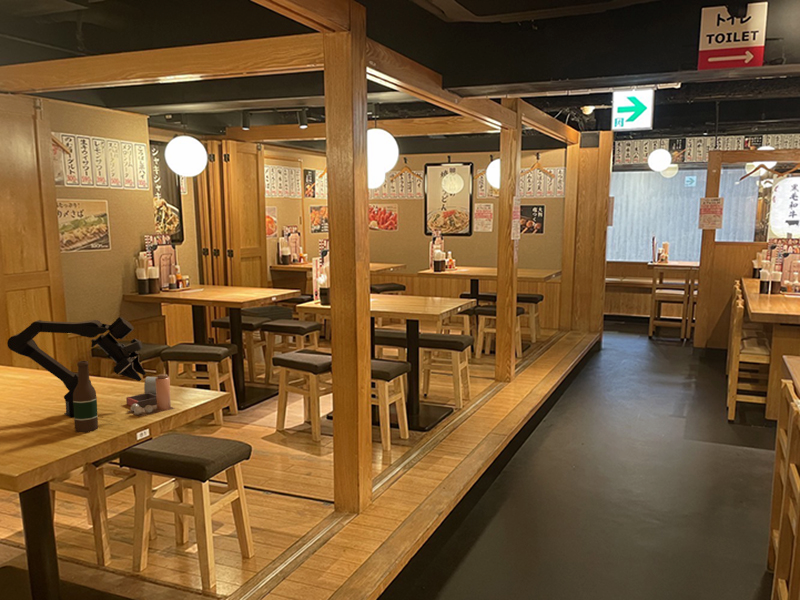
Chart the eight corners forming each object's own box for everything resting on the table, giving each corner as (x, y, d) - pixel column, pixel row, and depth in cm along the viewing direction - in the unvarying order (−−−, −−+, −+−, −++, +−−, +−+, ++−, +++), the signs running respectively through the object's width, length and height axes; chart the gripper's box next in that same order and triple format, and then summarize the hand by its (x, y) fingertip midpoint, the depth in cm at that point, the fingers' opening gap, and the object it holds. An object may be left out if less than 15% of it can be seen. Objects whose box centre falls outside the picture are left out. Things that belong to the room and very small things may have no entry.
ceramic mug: (165, 396, 259) (164, 378, 258) (144, 397, 257) (143, 379, 256) (168, 390, 269) (168, 372, 268) (148, 391, 267) (147, 373, 267)
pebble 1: (133, 413, 233) (132, 405, 233) (129, 411, 235) (129, 403, 235) (141, 411, 236) (140, 403, 235) (137, 409, 238) (136, 402, 237)
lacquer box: (138, 410, 239) (137, 401, 238) (126, 406, 245) (126, 397, 244) (160, 405, 246) (160, 396, 245) (149, 401, 252) (148, 392, 251)
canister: (161, 411, 236) (159, 377, 234) (154, 408, 239) (152, 375, 237) (173, 408, 240) (172, 375, 238) (166, 405, 243) (165, 373, 241)
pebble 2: (136, 416, 230) (136, 408, 229) (132, 414, 232) (132, 406, 231) (144, 414, 232) (144, 406, 232) (140, 412, 234) (140, 404, 234)
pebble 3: (147, 414, 232) (146, 406, 231) (143, 413, 234) (142, 405, 233) (154, 412, 234) (154, 405, 234) (150, 411, 236) (150, 403, 236)
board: (140, 418, 229) (139, 416, 229) (126, 413, 236) (126, 411, 236) (175, 410, 240) (175, 408, 240) (161, 405, 246) (161, 403, 246)
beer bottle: (92, 424, 223) (89, 358, 220) (103, 429, 218) (99, 361, 215) (69, 429, 217) (66, 361, 214) (80, 434, 212) (76, 365, 209)
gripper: (124, 337, 225) (155, 368, 229) (134, 329, 243) (163, 357, 247) (99, 358, 224) (131, 389, 228) (111, 348, 243) (141, 376, 246)
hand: (142, 377), depth 237 cm, fingers open, 9 cm apart
